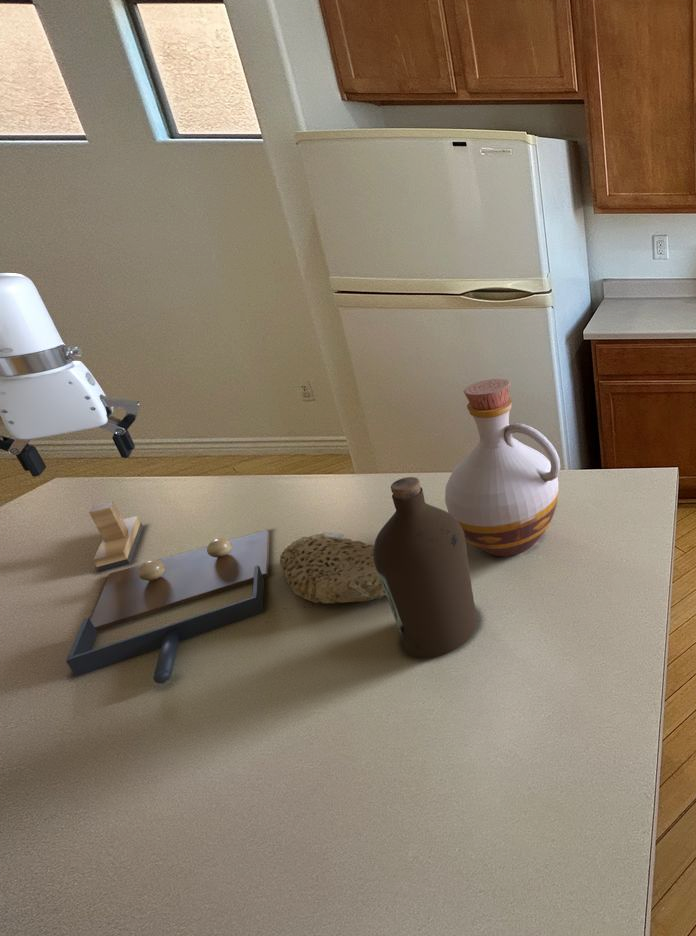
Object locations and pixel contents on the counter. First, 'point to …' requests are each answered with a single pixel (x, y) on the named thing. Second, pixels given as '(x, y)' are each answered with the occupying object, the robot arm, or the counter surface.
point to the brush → (114, 536)
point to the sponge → (331, 569)
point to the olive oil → (425, 573)
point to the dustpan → (160, 636)
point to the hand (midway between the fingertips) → (85, 463)
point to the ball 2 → (219, 548)
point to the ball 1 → (151, 570)
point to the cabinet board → (180, 580)
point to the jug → (502, 478)
